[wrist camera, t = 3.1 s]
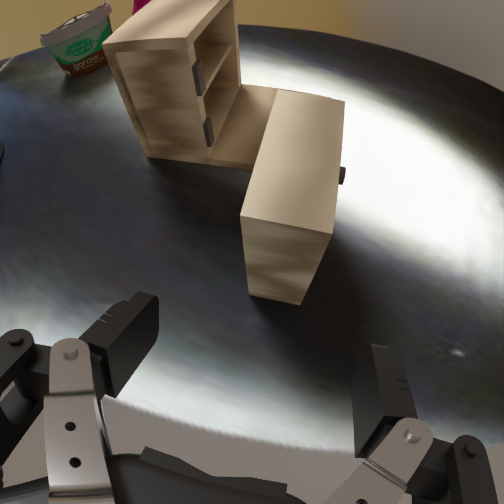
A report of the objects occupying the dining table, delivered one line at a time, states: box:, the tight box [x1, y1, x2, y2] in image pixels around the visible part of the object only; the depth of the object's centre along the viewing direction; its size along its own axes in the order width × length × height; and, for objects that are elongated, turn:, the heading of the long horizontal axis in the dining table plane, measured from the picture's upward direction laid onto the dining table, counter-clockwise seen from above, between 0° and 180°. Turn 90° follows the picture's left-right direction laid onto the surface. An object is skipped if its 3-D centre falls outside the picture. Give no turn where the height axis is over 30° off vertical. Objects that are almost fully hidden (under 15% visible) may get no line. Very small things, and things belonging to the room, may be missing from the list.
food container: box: [40, 0, 112, 78], centre depth 35 cm, size 12×6×10 cm, turn 125°
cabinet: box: [102, 0, 332, 171], centre depth 26 cm, size 18×12×14 cm
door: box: [240, 89, 346, 305], centre depth 21 cm, size 5×9×12 cm, turn 167°
